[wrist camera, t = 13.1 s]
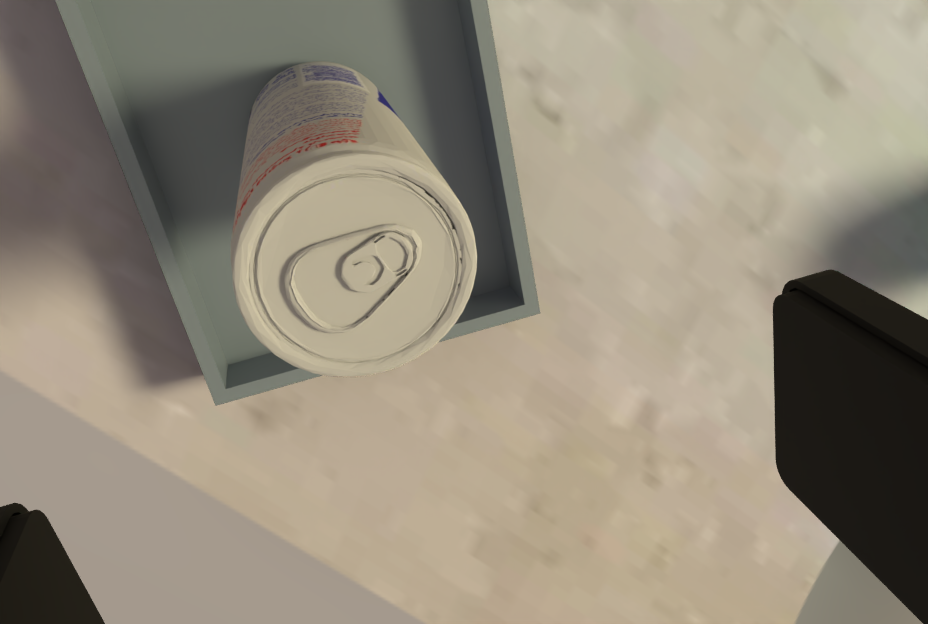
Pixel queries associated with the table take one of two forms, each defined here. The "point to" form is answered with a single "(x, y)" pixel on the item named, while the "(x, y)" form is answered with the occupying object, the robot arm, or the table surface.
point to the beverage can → (344, 229)
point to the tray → (226, 123)
